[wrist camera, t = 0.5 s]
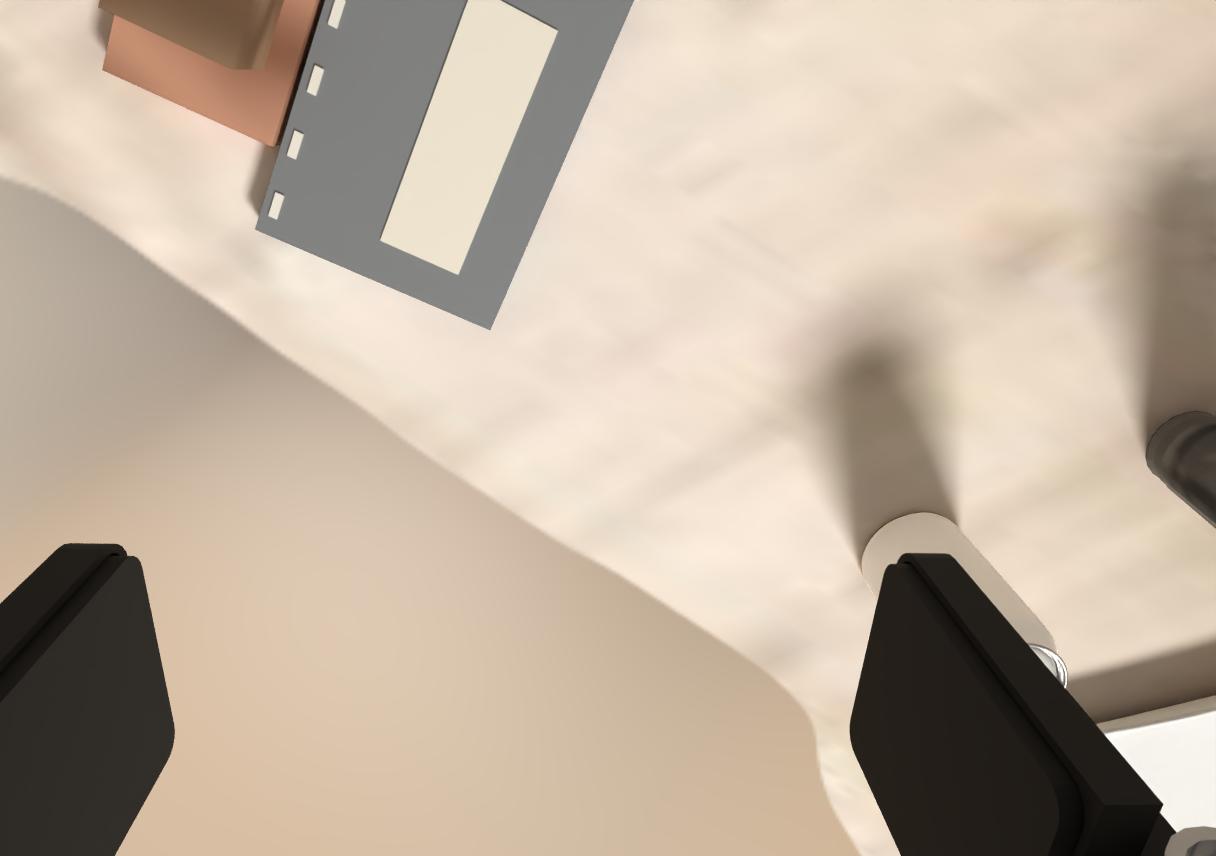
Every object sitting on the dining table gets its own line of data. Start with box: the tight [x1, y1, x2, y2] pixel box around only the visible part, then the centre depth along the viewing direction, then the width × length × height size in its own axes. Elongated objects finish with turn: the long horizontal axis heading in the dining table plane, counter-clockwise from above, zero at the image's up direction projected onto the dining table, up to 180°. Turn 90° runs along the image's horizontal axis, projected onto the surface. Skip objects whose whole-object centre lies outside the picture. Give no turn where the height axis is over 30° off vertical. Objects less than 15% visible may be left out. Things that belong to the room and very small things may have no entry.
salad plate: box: [1096, 695, 1216, 832], centre depth 58 cm, size 21×21×3 cm
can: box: [862, 512, 1068, 689], centre depth 44 cm, size 6×6×12 cm
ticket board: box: [255, 0, 634, 330], centre depth 37 cm, size 18×12×1 cm, turn 154°
